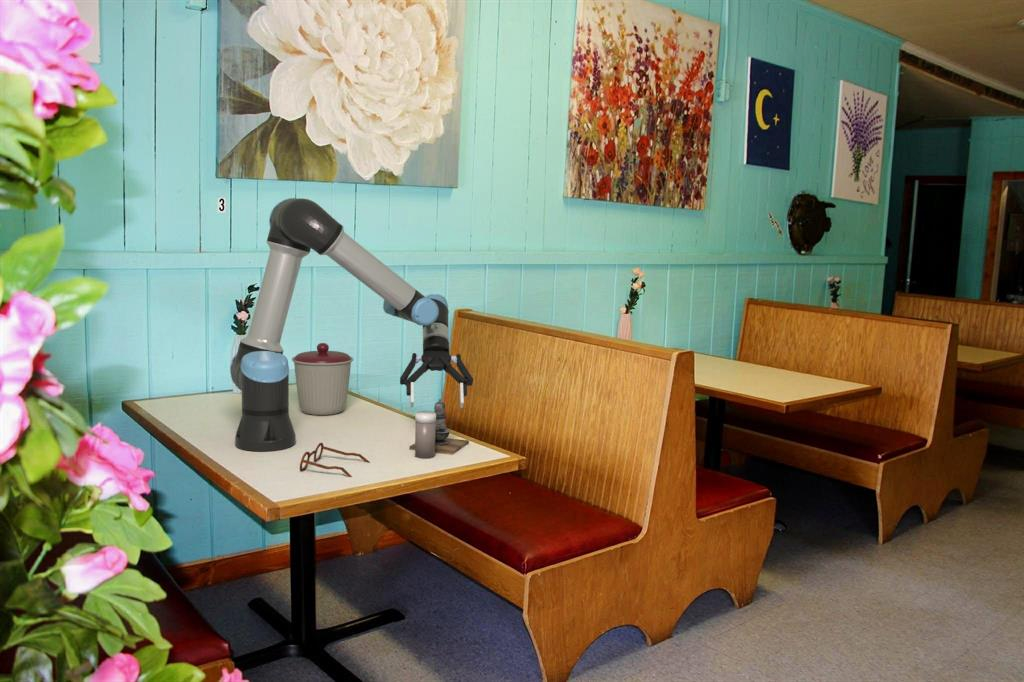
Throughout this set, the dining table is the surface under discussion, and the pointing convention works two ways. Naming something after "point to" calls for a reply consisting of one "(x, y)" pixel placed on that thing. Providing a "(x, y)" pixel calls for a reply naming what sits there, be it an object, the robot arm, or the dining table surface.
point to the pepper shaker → (425, 434)
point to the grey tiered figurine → (440, 425)
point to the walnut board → (448, 446)
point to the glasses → (320, 457)
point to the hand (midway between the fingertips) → (437, 405)
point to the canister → (322, 380)
